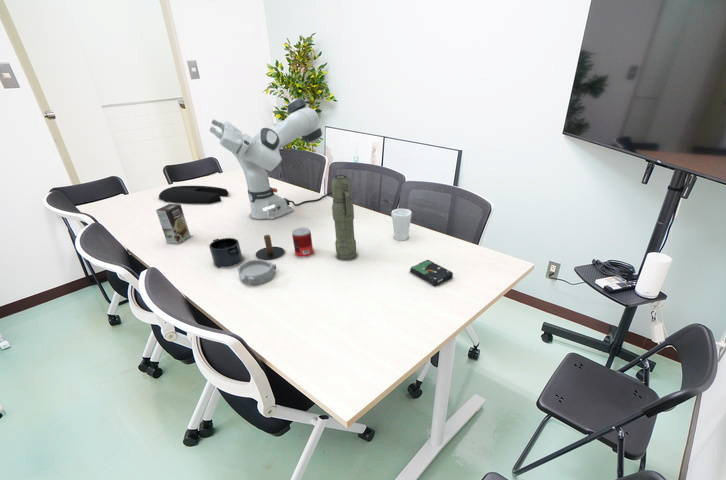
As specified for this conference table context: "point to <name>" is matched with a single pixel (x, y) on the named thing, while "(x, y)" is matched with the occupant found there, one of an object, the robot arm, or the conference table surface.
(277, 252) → the lid
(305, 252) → the canned food
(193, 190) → the black flat oval slab
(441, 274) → the disk drive
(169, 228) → the coffee box
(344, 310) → the conference table surface
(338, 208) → the thermos
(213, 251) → the pot
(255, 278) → the dish
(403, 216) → the foam cup
